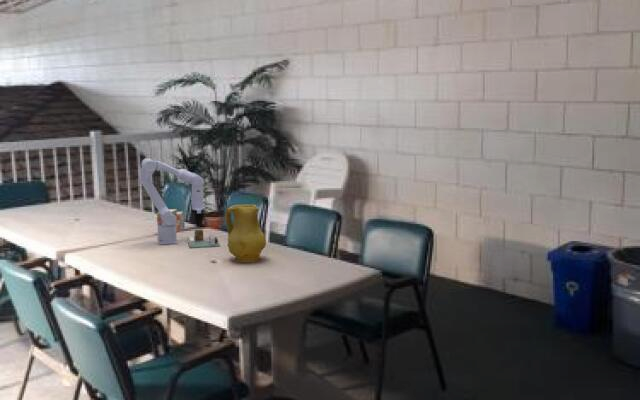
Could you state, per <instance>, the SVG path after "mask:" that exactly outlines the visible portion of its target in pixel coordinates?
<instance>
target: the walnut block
mask: <svg viewBox="0 0 640 400" xmlns="http://www.w3.org/2000/svg"><path fill="white" fill-rule="evenodd" d="M196 241H204V230H203V229H194V242H196Z"/></svg>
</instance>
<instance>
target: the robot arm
mask: <svg viewBox="0 0 640 400" xmlns="http://www.w3.org/2000/svg"><path fill="white" fill-rule="evenodd" d="M155 171H164V172H167V173H168V174H172V175H174V176H176V179H177V180H179V181H182V182H183V183H186V184H191V203H192V205H191V210H192V211H191V212H192V214H193V216H194V220H195V221H194V222H195V223H196V226H197V227H202V224H203V219H204V216H205V212H204V209H207V206H204V184H205V181H204V178H203V177H202V176H200V175H198V174H197V173H196V172H191V171H188V169H187V168H181V169H178V168H175V167H173V166H171V165H169V164H167V163H164V162H163V161H158V160H155V159H151V158H149V157H147V158H144V159H143V160H142V161H141V163H140V164H139V182H140V183H141V185H142V187H143V188H144V190H145V191H146V193H147V195H148V196H149V198H150V200H151V201H152V203H153V204H154V206H155V208H156V209H157V211H158V213H160V215H161V220H162V221H163V223H162V224H161V226H158V225H157V237H156V238H157V239H156V241H157V242H158V245H172V244H173V245H174V244H179V241H178V238H177V237H178V236H177V232H176V224H175V222H176V217H175V215H173V214H172V212H170V211H169V209H170V208H168V206H167V205H166V203H165V201H164V200H163V198H162V196H161V195H160V193H159V192H158V189H156V187H155V185H154V184H153V182H152V180H151V179H152V176H153V174H154V173H155Z"/></svg>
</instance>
